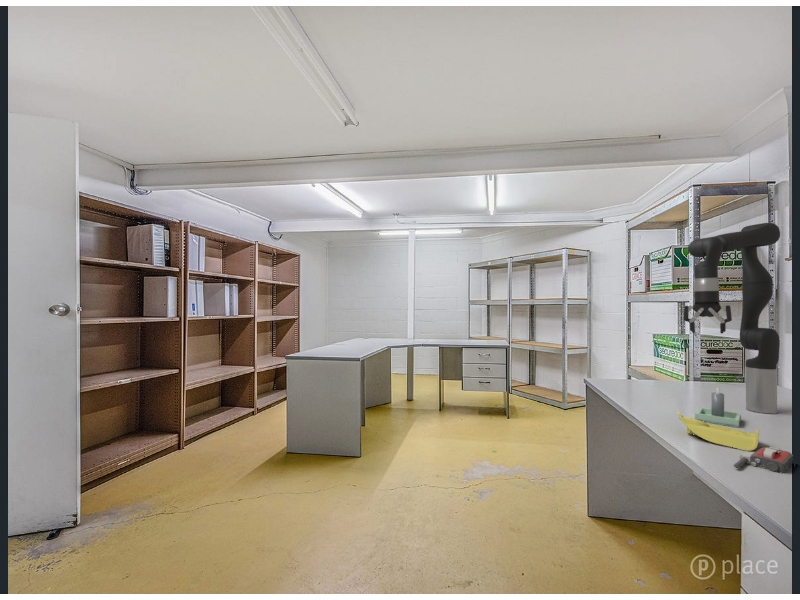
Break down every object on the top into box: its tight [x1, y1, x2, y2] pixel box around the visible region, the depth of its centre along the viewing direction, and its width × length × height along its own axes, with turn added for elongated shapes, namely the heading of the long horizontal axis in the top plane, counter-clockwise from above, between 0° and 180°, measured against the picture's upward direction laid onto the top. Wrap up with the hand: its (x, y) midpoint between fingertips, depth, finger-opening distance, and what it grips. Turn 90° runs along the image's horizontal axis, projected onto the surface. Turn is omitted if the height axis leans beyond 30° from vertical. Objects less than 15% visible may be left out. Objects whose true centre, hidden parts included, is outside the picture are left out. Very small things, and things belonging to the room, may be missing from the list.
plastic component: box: [677, 411, 760, 452], centre depth 122 cm, size 20×7×10 cm
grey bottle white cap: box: [711, 387, 725, 417], centre depth 143 cm, size 4×4×11 cm
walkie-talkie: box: [733, 446, 794, 474], centre depth 102 cm, size 9×4×20 cm
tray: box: [694, 407, 742, 429], centre depth 143 cm, size 12×12×3 cm
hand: (707, 332), depth 148 cm, fingers open, 8 cm apart
